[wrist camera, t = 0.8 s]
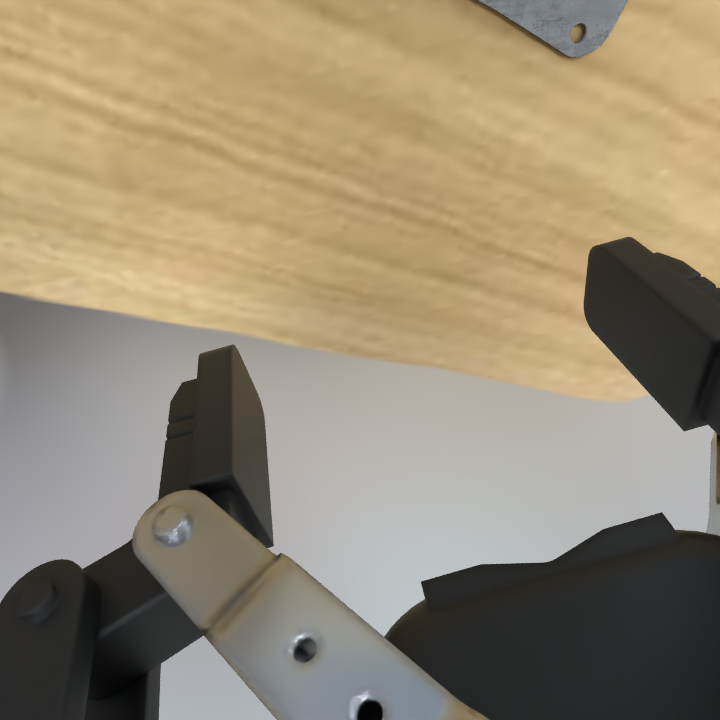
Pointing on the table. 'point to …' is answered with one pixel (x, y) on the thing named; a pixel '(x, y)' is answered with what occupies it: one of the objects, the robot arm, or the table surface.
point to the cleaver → (563, 20)
